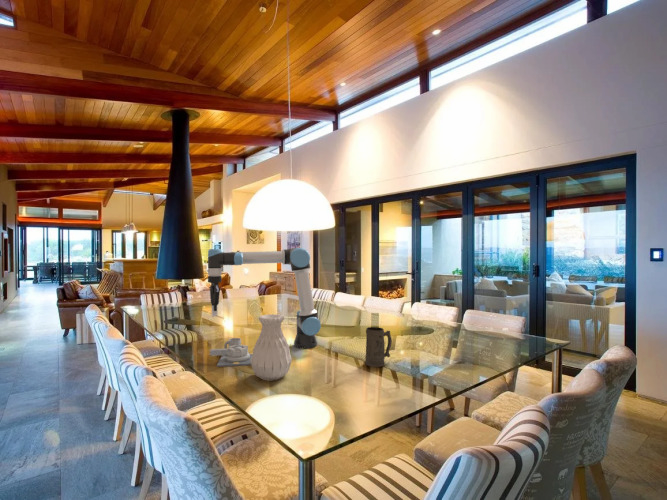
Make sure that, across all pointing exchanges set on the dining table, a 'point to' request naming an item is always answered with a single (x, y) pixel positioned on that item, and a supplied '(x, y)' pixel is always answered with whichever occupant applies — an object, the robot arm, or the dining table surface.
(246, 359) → the housing
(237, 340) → the cup
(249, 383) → the dining table surface
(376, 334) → the beer stein
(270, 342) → the vase
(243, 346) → the grey lumpy block
